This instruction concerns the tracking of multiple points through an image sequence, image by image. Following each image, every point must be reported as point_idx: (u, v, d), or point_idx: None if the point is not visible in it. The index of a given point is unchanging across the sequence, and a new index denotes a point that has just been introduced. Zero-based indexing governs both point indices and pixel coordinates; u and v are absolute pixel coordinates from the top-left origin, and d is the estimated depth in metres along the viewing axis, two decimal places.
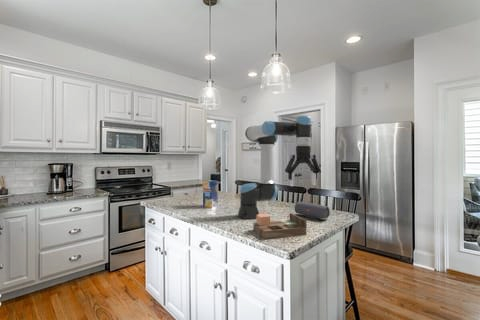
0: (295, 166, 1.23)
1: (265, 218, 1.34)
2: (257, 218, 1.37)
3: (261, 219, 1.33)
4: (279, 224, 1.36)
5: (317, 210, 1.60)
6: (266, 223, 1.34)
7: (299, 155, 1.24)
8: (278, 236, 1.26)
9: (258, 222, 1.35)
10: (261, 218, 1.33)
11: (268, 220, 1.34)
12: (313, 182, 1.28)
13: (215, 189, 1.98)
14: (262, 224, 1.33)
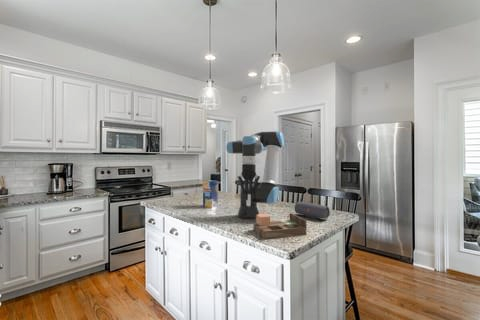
0: (246, 186, 1.32)
1: (265, 218, 1.34)
2: (257, 218, 1.37)
3: (261, 219, 1.33)
4: (279, 224, 1.36)
5: (317, 210, 1.60)
6: (266, 223, 1.34)
7: (243, 173, 1.31)
8: (278, 236, 1.26)
9: (258, 222, 1.35)
10: (261, 218, 1.33)
11: (268, 220, 1.34)
12: None
13: (215, 189, 1.98)
14: (262, 224, 1.33)
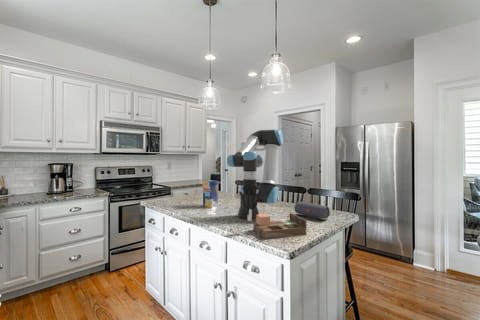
0: (248, 201, 1.32)
1: (265, 218, 1.34)
2: (257, 218, 1.37)
3: (261, 219, 1.33)
4: (279, 224, 1.36)
5: (317, 210, 1.60)
6: (266, 223, 1.34)
7: (244, 188, 1.32)
8: (278, 236, 1.26)
9: (258, 222, 1.35)
10: (261, 218, 1.33)
11: (268, 220, 1.34)
12: None
13: (215, 189, 1.98)
14: (262, 224, 1.33)
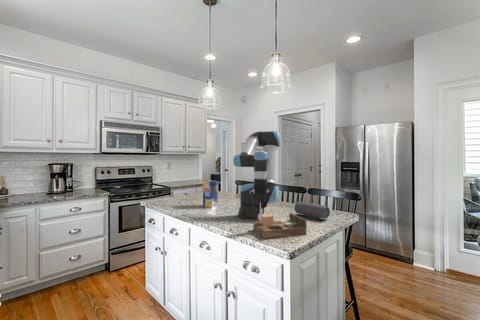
0: (258, 200, 1.34)
1: (268, 218, 1.34)
2: None
3: (264, 219, 1.33)
4: (279, 224, 1.36)
5: (317, 210, 1.60)
6: (269, 223, 1.34)
7: (255, 188, 1.34)
8: (278, 236, 1.26)
9: (261, 222, 1.36)
10: (264, 218, 1.33)
11: (271, 220, 1.35)
12: None
13: (215, 189, 1.98)
14: (265, 224, 1.34)
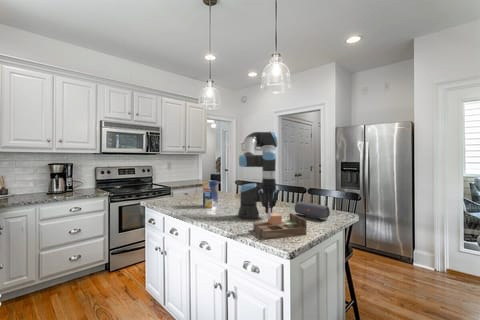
0: (267, 200, 1.36)
1: (276, 217, 1.36)
2: None
3: (273, 218, 1.35)
4: (279, 224, 1.36)
5: (317, 210, 1.60)
6: (277, 222, 1.36)
7: (264, 187, 1.35)
8: (278, 236, 1.26)
9: (269, 221, 1.38)
10: (273, 217, 1.35)
11: (279, 219, 1.36)
12: None
13: (215, 189, 1.98)
14: (274, 223, 1.35)
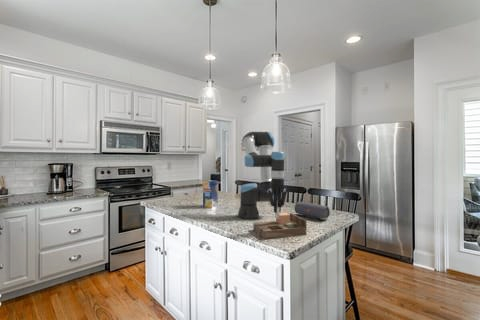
0: (276, 199, 1.37)
1: (285, 216, 1.37)
2: None
3: (282, 217, 1.37)
4: (279, 224, 1.36)
5: (317, 210, 1.60)
6: (286, 221, 1.38)
7: (273, 187, 1.37)
8: (278, 236, 1.26)
9: (278, 220, 1.39)
10: (281, 216, 1.37)
11: (288, 218, 1.38)
12: None
13: (215, 189, 1.98)
14: (282, 222, 1.37)
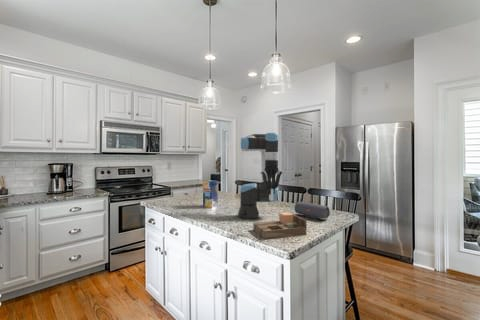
0: (270, 181, 1.36)
1: (288, 216, 1.38)
2: (280, 216, 1.41)
3: (285, 217, 1.37)
4: (279, 224, 1.36)
5: (317, 210, 1.60)
6: (289, 221, 1.38)
7: (267, 168, 1.35)
8: (278, 236, 1.26)
9: (281, 220, 1.40)
10: (284, 216, 1.37)
11: (291, 218, 1.39)
12: None
13: (215, 189, 1.98)
14: (285, 222, 1.37)
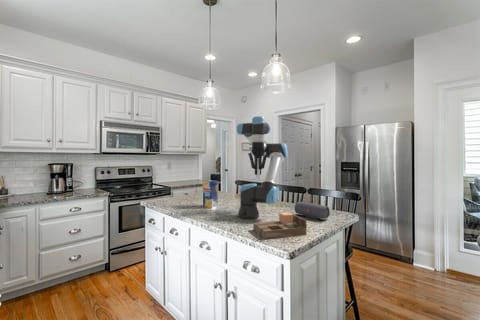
0: (256, 162, 1.45)
1: (288, 216, 1.38)
2: (280, 216, 1.41)
3: (285, 217, 1.37)
4: (279, 224, 1.36)
5: (317, 210, 1.60)
6: (289, 221, 1.38)
7: (253, 150, 1.44)
8: (278, 236, 1.26)
9: (281, 220, 1.40)
10: (284, 216, 1.37)
11: (291, 218, 1.39)
12: None
13: (215, 189, 1.98)
14: (285, 222, 1.37)
